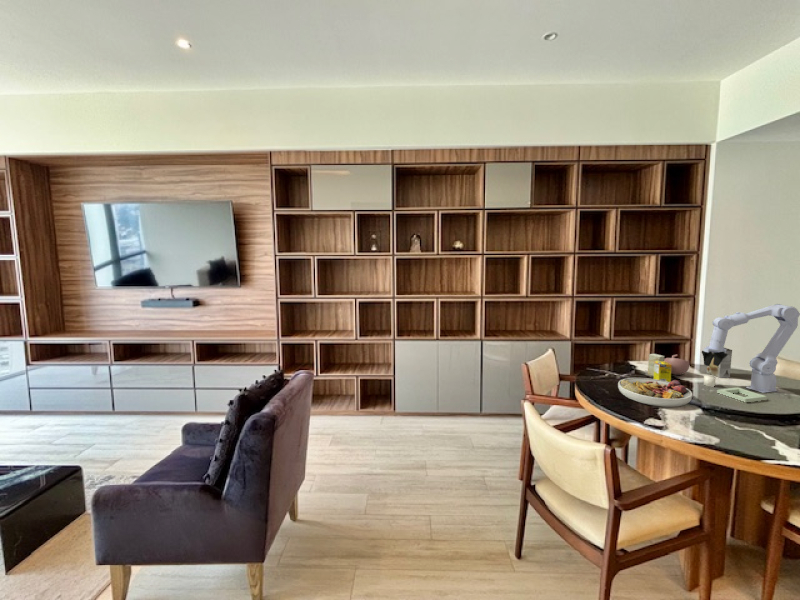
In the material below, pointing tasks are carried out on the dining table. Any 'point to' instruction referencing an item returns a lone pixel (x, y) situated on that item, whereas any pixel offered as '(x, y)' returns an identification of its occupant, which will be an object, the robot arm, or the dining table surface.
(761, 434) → the dining table surface
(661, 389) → the bowl
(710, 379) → the white egg shape
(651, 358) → the skincare box
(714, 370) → the coffee box
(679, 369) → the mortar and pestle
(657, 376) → the supplement box
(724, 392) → the holder
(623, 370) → the dining table surface
